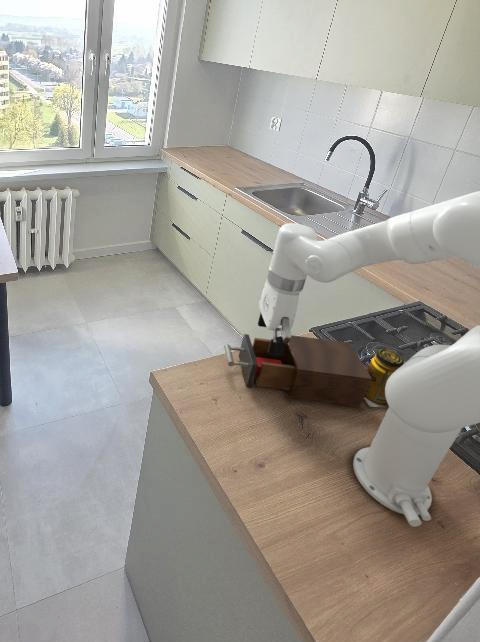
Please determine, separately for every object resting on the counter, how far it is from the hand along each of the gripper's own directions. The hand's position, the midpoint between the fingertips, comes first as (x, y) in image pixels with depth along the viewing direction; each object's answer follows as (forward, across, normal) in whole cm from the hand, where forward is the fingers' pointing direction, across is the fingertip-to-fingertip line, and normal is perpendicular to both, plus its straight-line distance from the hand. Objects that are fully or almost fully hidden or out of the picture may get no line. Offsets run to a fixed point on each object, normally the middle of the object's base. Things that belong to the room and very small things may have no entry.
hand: (269, 339), depth 98 cm
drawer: (+11, 0, +1) cm, 11 cm away
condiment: (+12, +1, +27) cm, 30 cm away
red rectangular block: (+10, 0, +1) cm, 10 cm away
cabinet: (+12, 0, +13) cm, 18 cm away
